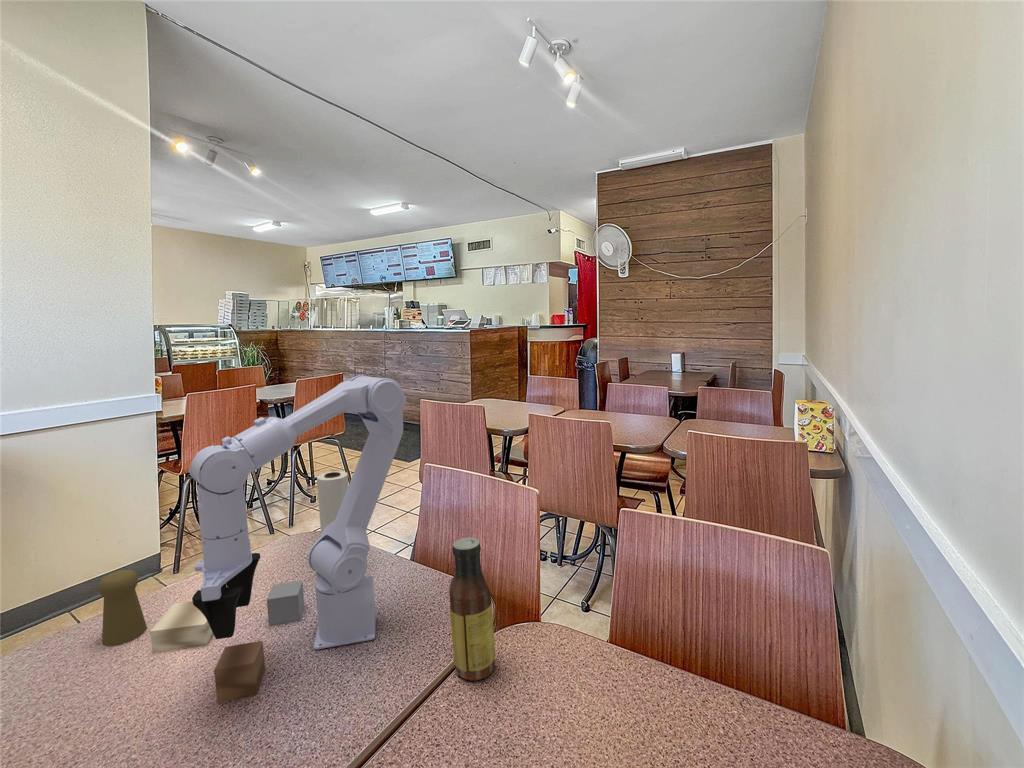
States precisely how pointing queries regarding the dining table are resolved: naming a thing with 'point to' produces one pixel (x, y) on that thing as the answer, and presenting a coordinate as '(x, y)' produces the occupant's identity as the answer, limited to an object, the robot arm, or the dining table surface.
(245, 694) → the walnut cube
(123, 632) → the olive round-headed peg
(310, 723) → the dining table surface
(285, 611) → the slate cube
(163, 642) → the sticky note pad
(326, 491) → the paper towel roll
